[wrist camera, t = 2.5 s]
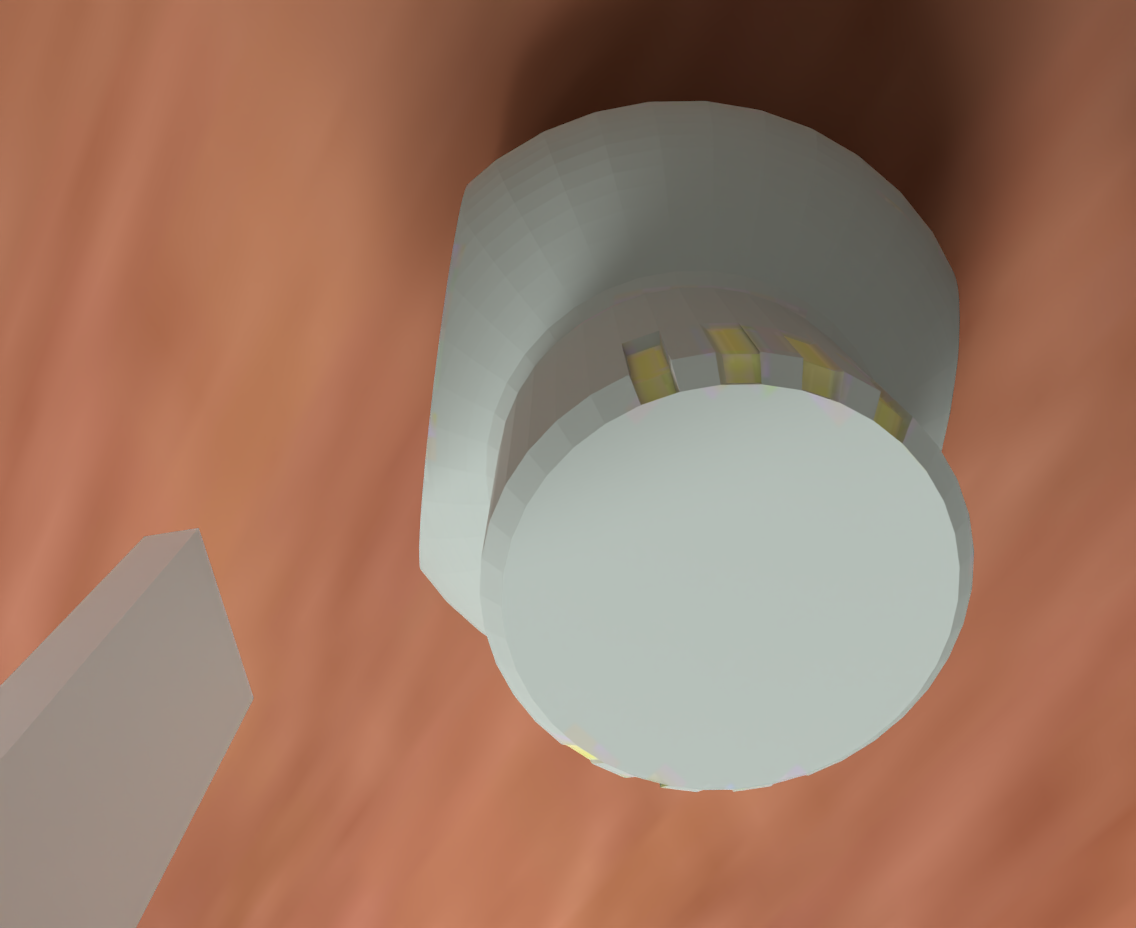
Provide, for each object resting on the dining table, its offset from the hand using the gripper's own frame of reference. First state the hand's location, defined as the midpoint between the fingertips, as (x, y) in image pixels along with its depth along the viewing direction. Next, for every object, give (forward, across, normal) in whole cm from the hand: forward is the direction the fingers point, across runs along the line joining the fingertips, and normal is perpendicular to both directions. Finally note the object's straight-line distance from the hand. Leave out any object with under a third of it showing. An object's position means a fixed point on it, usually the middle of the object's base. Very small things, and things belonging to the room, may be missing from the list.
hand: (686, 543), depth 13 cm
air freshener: (+8, 0, 0) cm, 8 cm away
